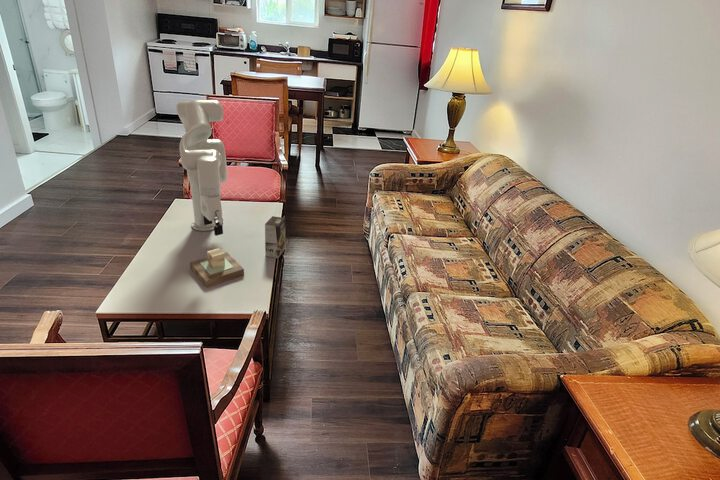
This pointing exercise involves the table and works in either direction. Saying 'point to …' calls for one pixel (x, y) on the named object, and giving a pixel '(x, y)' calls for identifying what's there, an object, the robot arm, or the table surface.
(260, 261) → the table surface
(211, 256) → the maple block
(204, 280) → the walnut base
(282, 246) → the coffee box
